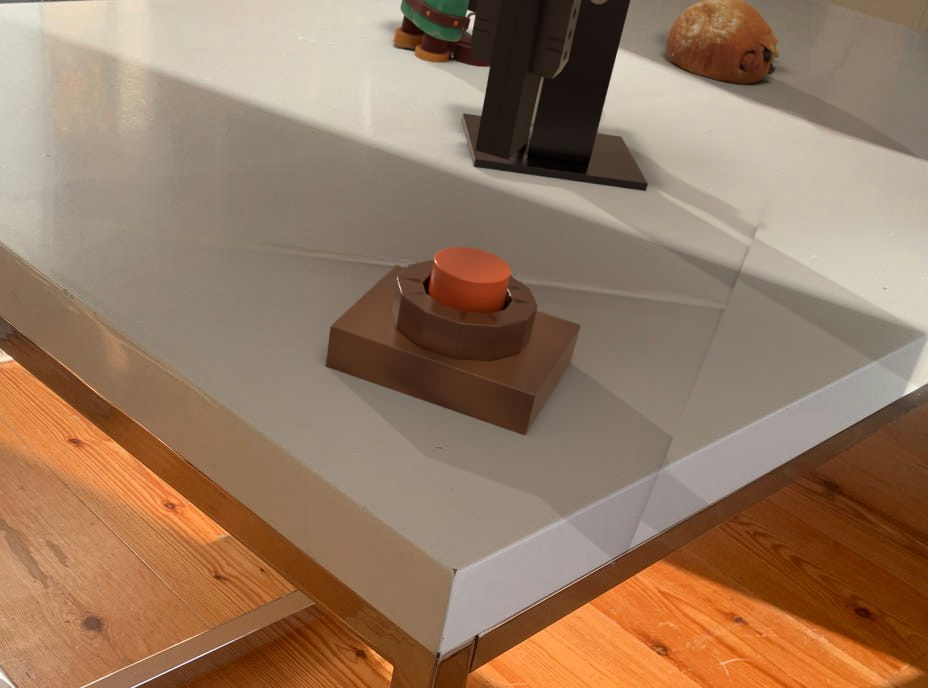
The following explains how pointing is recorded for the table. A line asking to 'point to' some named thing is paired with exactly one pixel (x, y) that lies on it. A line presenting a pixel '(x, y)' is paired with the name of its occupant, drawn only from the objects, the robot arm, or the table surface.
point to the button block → (454, 349)
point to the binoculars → (438, 30)
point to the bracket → (574, 112)
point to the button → (469, 280)
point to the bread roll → (723, 42)
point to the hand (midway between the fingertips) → (501, 145)
